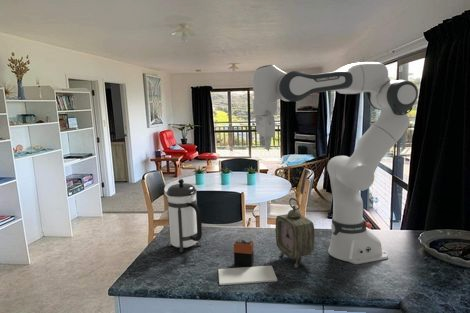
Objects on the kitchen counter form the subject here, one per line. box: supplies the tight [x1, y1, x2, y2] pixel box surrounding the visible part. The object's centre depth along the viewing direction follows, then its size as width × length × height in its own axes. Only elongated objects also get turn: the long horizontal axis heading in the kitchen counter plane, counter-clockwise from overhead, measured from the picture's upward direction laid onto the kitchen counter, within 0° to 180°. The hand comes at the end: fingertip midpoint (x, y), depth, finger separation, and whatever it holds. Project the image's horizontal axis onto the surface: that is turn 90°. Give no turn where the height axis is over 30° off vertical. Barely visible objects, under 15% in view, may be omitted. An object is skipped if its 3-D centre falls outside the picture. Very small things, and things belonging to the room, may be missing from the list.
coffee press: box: [165, 178, 203, 254], centre depth 140 cm, size 17×16×30 cm
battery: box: [233, 238, 255, 268], centre depth 124 cm, size 4×7×10 cm, turn 75°
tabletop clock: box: [275, 197, 315, 269], centre depth 125 cm, size 14×9×25 cm, turn 22°
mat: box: [218, 265, 278, 286], centre depth 116 cm, size 20×10×1 cm, turn 95°
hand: (265, 147), depth 123 cm, fingers open, 8 cm apart
